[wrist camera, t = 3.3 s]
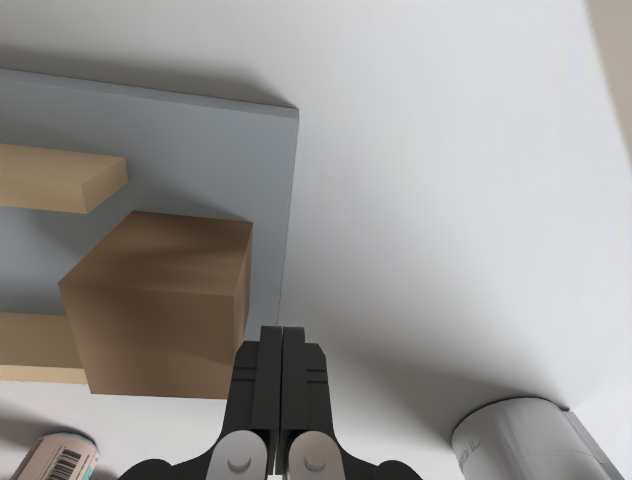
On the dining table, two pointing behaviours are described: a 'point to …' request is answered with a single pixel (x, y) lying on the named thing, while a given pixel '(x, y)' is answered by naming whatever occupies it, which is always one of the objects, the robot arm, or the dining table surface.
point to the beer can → (59, 458)
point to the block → (162, 305)
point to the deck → (124, 194)
